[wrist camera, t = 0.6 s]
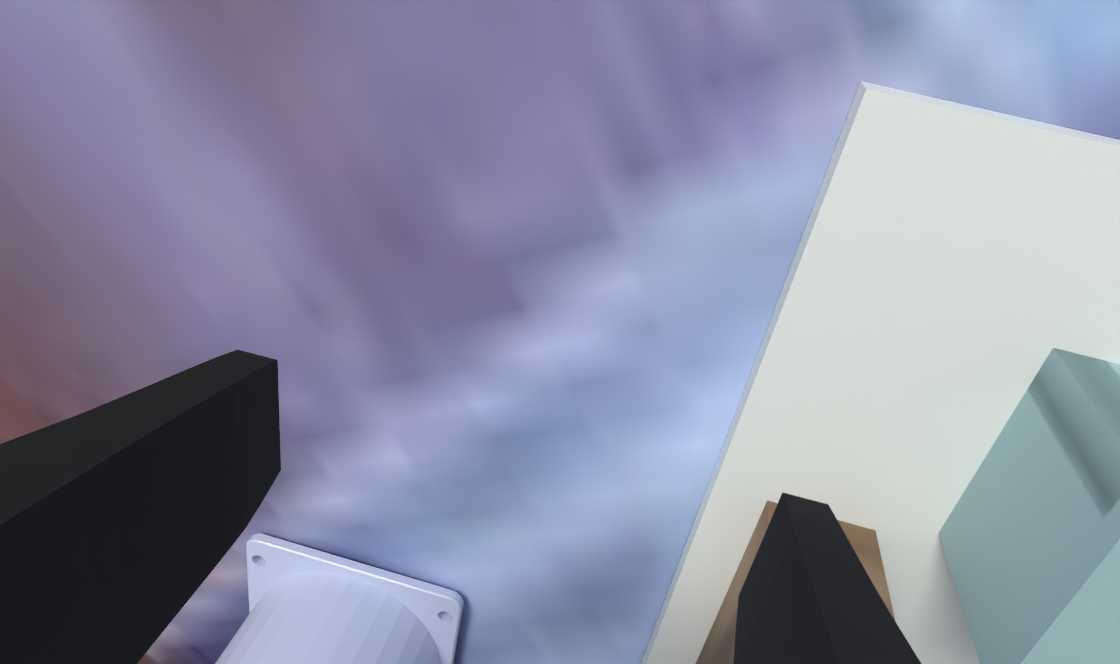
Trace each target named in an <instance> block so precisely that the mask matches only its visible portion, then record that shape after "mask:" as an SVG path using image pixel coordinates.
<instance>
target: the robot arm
mask: <svg viewBox="0 0 1120 664" xmlns="http://www.w3.org/2000/svg"><path fill="white" fill-rule="evenodd" d="M280 470H281V462H280V429H279V397H278V364H277V360H275V359H271V358H267V357H263V356H259V355H256V354H252V353H248V352H244V351H240V350H236V351H233V352H230V353H227V354H224V355H222V356H219V357H216V358H214V359H211V360H209V361H206V362H204V363H202V364H199V365H197V366H194V367H192V368H189V369H187V370H185V371H182V372H180V373H178V374H175V375H173V376H171V377H168V378H166V379H164V380H161V381H159V382H156V383H154V384H152V385H149V386H147V387H145V388H142V389H140V390H137V391H135V392H133V393H130V394H128V395H125V396H123V397H121V398H118V399H116V400H113V401H111V402H109V403H106V404H104V405H101V406H99V407H97V408H94V409H92V410H89V411H87V412H84V413H82V414H79V415H77V416H74V417H71V418H69V419H66V420H63V421H61V422H58V423H55V424H53V425H50V426H47V427H45V428H42V429H39V430H37V431H34V432H32V433H29V434H26V435H24V436H21V437H18V438H16V439H13V440H10V441H8V442H5V443H2V444H0V664H137V663H138V662H139V660H140V659H141V658H142V657H143V655H144V654H145V653H146V652H147V650H148V649H149V648H150V647H151V645H152V644H153V643H154V642H155V641H156V639H157V638H158V637H159V636H160V634H161V633H162V632H163V631H164V629H165V628H166V627H167V626H168V624H169V623H170V622H171V621H172V619H173V618H174V617H175V616H176V615H177V613H178V612H179V611H180V610H181V608H182V607H183V606H184V605H185V603H186V602H187V601H188V600H189V598H190V597H191V596H192V595H193V594H194V592H195V591H196V590H197V589H198V587H199V586H200V585H201V584H202V582H203V581H204V580H205V579H206V577H207V576H208V575H209V574H210V573H211V571H212V570H213V569H214V567H215V566H216V565H217V564H218V562H219V561H220V560H221V559H222V557H223V556H224V555H225V554H226V552H227V551H228V550H229V549H230V547H231V546H232V545H233V544H234V542H235V541H236V540H237V538H238V537H239V536H240V535H241V533H242V532H243V531H244V529H245V528H246V526H247V525H248V523H249V522H250V520H251V518H252V517H253V515H254V514H255V512H256V510H257V509H258V507H259V506H260V504H261V502H262V501H263V499H264V497H265V496H266V494H267V492H268V491H269V489H270V487H271V485H272V484H273V482H274V480H275V479H276V477H277V475H278V474H279V472H280ZM246 555H247V574H248V593H249V612H250V614H249V615H248V617H247V618H246V620H245V621H244V623H243V624H242V626H241V627H240V628H239V630H238V631H237V633H236V634H235V636H234V637H233V639H232V640H231V641H230V643H229V644H228V646H227V647H226V649H225V650H224V652H223V653H222V655H221V656H220V657H219V659H218V660H217V662H216V663H215V664H453V663H454V657H455V651H456V645H457V639H458V633H459V627H460V622H461V616H462V610H463V604H464V603H463V599H462V597H461V596H460V595H459V594H458V593H457V592H455V591H453V590H450V589H447V588H444V587H440V586H437V585H433V584H430V583H427V582H423V581H420V580H417V579H413V578H410V577H407V576H403V575H400V574H396V573H393V572H390V571H386V570H383V569H380V568H376V567H373V566H369V565H366V564H363V563H359V562H356V561H353V560H349V559H346V558H343V557H339V556H336V555H332V554H329V553H326V552H322V551H319V550H316V549H312V548H309V547H306V546H302V545H299V544H295V543H292V542H289V541H285V540H282V539H279V538H275V537H272V536H269V535H265V534H259V533H258V534H254V535H253V536H252V537H251V538H250V539H249V541H248V542H247V544H246ZM733 664H921V662H920V661H919V659H918V657H917V656H916V654H915V653H914V651H913V649H912V648H911V646H910V644H909V643H908V641H907V640H906V638H905V636H904V635H903V633H902V631H901V630H900V628H899V626H898V625H897V623H896V622H895V620H894V618H893V617H892V615H891V613H890V612H889V610H888V608H887V607H886V605H885V603H884V602H883V600H882V598H881V596H880V595H879V593H878V591H877V590H876V588H875V586H874V584H873V583H872V581H871V579H870V577H869V575H868V574H867V572H866V570H865V568H864V567H863V565H862V563H861V561H860V560H859V558H858V556H857V554H856V552H855V551H854V549H853V547H852V545H851V543H850V542H849V540H848V538H847V536H846V535H845V533H844V531H843V529H842V527H841V526H840V524H839V522H838V520H837V519H836V517H835V515H834V513H833V512H832V510H831V508H830V506H829V505H828V504H825V503H821V502H817V501H813V500H810V499H806V498H802V497H798V496H794V495H790V494H787V493H783V492H782V495H781V497H780V499H779V502H778V504H777V506H776V509H775V511H774V514H773V516H772V518H771V521H770V523H769V525H768V528H767V530H766V532H765V535H764V537H763V539H762V542H761V544H760V547H759V549H758V551H757V554H756V556H755V558H754V561H753V563H752V565H751V568H750V570H749V572H748V575H747V577H746V580H745V582H744V584H743V587H742V589H741V591H740V594H739V597H738V609H737V620H736V632H735V647H734V662H733Z"/></svg>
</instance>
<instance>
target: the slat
mask: <svg viewBox="0 0 1120 664" xmlns="http://www.w3.org/2000/svg"><path fill="white" fill-rule="evenodd" d="M777 504H778V503H775V502H771V501H767V502H766V504H765V507H764V509H763V511H762V514H761V516H760V518H759V520H758V523H757V525H756V527H755V530H754V532H753V534H752V536H751V539H750V541H749V543H748V545H747V548H746V550H745V552H744V555H743V557H742V559H741V561H740V564H739V566H738V568H737V571H736V573H735V575H734V577H733V580H732V582H731V584H730V586H729V589H728V591H727V593H726V596H725V598H724V600H723V602H722V605H721V607H720V609H719V612H718V614H717V616H716V618H715V621H714V623H713V625H712V628H711V630H710V632H709V634H708V637H707V639H706V641H705V643H704V646H703V648H702V650H701V653H700V655H699V657H698V659H697V662H696V664H733V662H734V647H735V632H736V620H737V609H738V597H739V594H740V591H741V589H742V587H743V584H744V582H745V580H746V577H747V575H748V572H749V570H750V568H751V565H752V563H753V561H754V558H755V556H756V554H757V551H758V549H759V547H760V544H761V542H762V539H763V537H764V535H765V532H766V530H767V528H768V525H769V523H770V521H771V518H772V516H773V514H774V511H775V509H776V506H777ZM838 522H839V524H840V526H841V527H842V529H843V531H844V533H845V535H846V536H847V538H848V540H849V542H850V543H851V545H852V547H853V549H854V551H855V552H856V554H857V556H858V558H859V560H860V561H861V563H862V565H863V567H864V568H865V570H866V572H867V574H868V575H869V577H870V579H871V581H872V583H873V584H874V586H875V588H876V590H877V591H878V593H879V595H880V596H881V598H882V600H883V602H884V603H885V605H886V607H887V608H888V610H889V612H890V613H891V615H892V617H893V618H894V620H895V617H894V613H893V608H892V603H891V599H890V594H889V590H888V585H887V581H886V576H885V572H884V567H883V562H882V558H881V553H880V549H879V544H878V540H877V535H876V530H872V529H869V528H865V527H861V526H858V525H854V524H851V523H847V522H843V521H840V520H838Z"/></svg>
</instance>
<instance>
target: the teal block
mask: <svg viewBox="0 0 1120 664" xmlns="http://www.w3.org/2000/svg"><path fill="white" fill-rule="evenodd" d="M939 536H940V539H941V542H942V545H943V548H944V551H945V554H946V558H947V561H948V564H949V567H950V570H951V573H952V576H953V580H954V583H955V586H956V589H957V592H958V595H959V598H960V601H961V605H962V608H963V611H964V614H965V617H966V620H967V623H968V627H969V630H970V633H971V636H972V639H973V642H974V645H975V649H976V652H977V655H978V658H979V661H980V664H1120V364H1117V363H1113V362H1109V361H1105V360H1101V359H1097V358H1093V357H1089V356H1085V355H1081V354H1077V353H1073V352H1069V351H1065V350H1061V349H1057V348H1052V350H1051V352H1050V353H1049V355H1048V357H1047V358H1046V360H1045V361H1044V363H1043V365H1042V366H1041V368H1040V370H1039V371H1038V373H1037V374H1036V376H1035V378H1034V379H1033V381H1032V382H1031V384H1030V386H1029V387H1028V389H1027V391H1026V392H1025V394H1024V395H1023V397H1022V399H1021V400H1020V402H1019V403H1018V405H1017V407H1016V408H1015V410H1014V412H1013V413H1012V415H1011V416H1010V418H1009V420H1008V421H1007V423H1006V425H1005V426H1004V428H1003V429H1002V431H1001V433H1000V434H999V436H998V437H997V439H996V441H995V442H994V444H993V446H992V447H991V449H990V450H989V452H988V454H987V455H986V457H985V458H984V460H983V462H982V463H981V465H980V467H979V468H978V470H977V471H976V473H975V475H974V476H973V478H972V480H971V481H970V483H969V484H968V486H967V488H966V489H965V491H964V492H963V494H962V496H961V497H960V499H959V501H958V502H957V504H956V505H955V507H954V509H953V510H952V512H951V513H950V515H949V517H948V518H947V520H946V522H945V523H944V525H943V526H942V528H941V530H940V531H939Z"/></svg>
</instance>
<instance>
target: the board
mask: <svg viewBox="0 0 1120 664" xmlns="http://www.w3.org/2000/svg"><path fill="white" fill-rule="evenodd" d="M1052 348H1057V349H1061V350H1065V351H1069V352H1073V353H1077V354H1081V355H1085V356H1089V357H1093V358H1097V359H1101V360H1105V361H1109V362H1113V363H1117V364H1120V140H1117V139H1113V138H1109V137H1104V136H1100V135H1096V134H1091V133H1087V132H1082V131H1078V130H1074V129H1069V128H1065V127H1060V126H1056V125H1052V124H1047V123H1043V122H1038V121H1034V120H1030V119H1025V118H1021V117H1016V116H1012V115H1008V114H1003V113H999V112H994V111H990V110H986V109H981V108H977V107H973V106H968V105H964V104H959V103H955V102H951V101H946V100H942V99H937V98H933V97H929V96H924V95H920V94H915V93H911V92H907V91H902V90H898V89H893V88H889V87H885V86H880V85H876V84H871V83H867V82H863V81H861V82H860V85H859V87H858V90H857V93H856V95H855V98H854V101H853V103H852V106H851V109H850V111H849V114H848V117H847V119H846V122H845V124H844V127H843V130H842V132H841V135H840V138H839V140H838V143H837V146H836V148H835V151H834V154H833V156H832V159H831V162H830V164H829V167H828V169H827V172H826V175H825V177H824V180H823V183H822V185H821V188H820V191H819V193H818V196H817V199H816V201H815V204H814V206H813V209H812V212H811V214H810V217H809V220H808V222H807V225H806V228H805V230H804V233H803V236H802V238H801V241H800V244H799V246H798V249H797V251H796V254H795V257H794V259H793V262H792V265H791V267H790V270H789V273H788V275H787V278H786V281H785V283H784V286H783V289H782V291H781V294H780V296H779V299H778V302H777V304H776V307H775V310H774V312H773V315H772V318H771V320H770V323H769V326H768V328H767V331H766V333H765V336H764V339H763V341H762V344H761V347H760V349H759V352H758V355H757V357H756V360H755V363H754V365H753V368H752V371H751V373H750V376H749V378H748V381H747V384H746V386H745V389H744V392H743V394H742V397H741V400H740V402H739V405H738V408H737V410H736V413H735V416H734V418H733V421H732V423H731V426H730V429H729V431H728V434H727V437H726V439H725V442H724V445H723V447H722V450H721V453H720V455H719V458H718V461H717V463H716V466H715V468H714V471H713V474H712V476H711V479H710V482H709V484H708V487H707V490H706V492H705V495H704V498H703V500H702V503H701V505H700V508H699V511H698V513H697V516H696V519H695V521H694V524H693V527H692V529H691V532H690V535H689V537H688V540H687V543H686V545H685V548H684V550H683V553H682V556H681V558H680V561H679V564H678V566H677V569H676V572H675V574H674V577H673V580H672V582H671V585H670V588H669V590H668V593H667V595H666V598H665V601H664V603H663V606H662V609H661V611H660V614H659V617H658V619H657V622H656V625H655V627H654V630H653V632H652V635H651V638H650V640H649V643H648V646H647V648H646V651H645V654H644V656H643V659H642V662H641V664H696V662H697V659H698V657H699V655H700V653H701V650H702V648H703V646H704V643H705V641H706V639H707V637H708V634H709V632H710V630H711V628H712V625H713V623H714V621H715V618H716V616H717V614H718V612H719V609H720V607H721V605H722V602H723V600H724V598H725V596H726V593H727V591H728V589H729V586H730V584H731V582H732V580H733V577H734V575H735V573H736V571H737V568H738V566H739V564H740V561H741V559H742V557H743V555H744V552H745V550H746V548H747V545H748V543H749V541H750V539H751V536H752V534H753V532H754V530H755V527H756V525H757V523H758V520H759V518H760V516H761V514H762V511H763V509H764V507H765V504H766V502H767V501H771V502H775V503H778V502H779V499H780V497H781V495H782V492H783V493H787V494H790V495H794V496H798V497H802V498H806V499H810V500H813V501H817V502H821V503H825V504H828V505H829V506H830V508H831V510H832V512H833V513H834V515H835V517H836V519H837V520H840V521H843V522H847V523H851V524H854V525H858V526H861V527H865V528H869V529H872V530H876V535H877V540H878V544H879V549H880V553H881V558H882V562H883V567H884V572H885V576H886V581H887V585H888V590H889V594H890V599H891V603H892V608H893V613H894V617H895V622H896V623H897V625H898V626H899V628H900V630H901V631H902V633H903V635H904V636H905V638H906V640H907V641H908V643H909V644H910V646H911V648H912V649H913V651H914V653H915V654H916V656H917V657H918V659H919V661H920V662H921V664H980V661H979V658H978V655H977V652H976V649H975V645H974V642H973V639H972V636H971V633H970V630H969V627H968V623H967V620H966V617H965V614H964V611H963V608H962V605H961V601H960V598H959V595H958V592H957V589H956V586H955V583H954V580H953V576H952V573H951V570H950V567H949V564H948V561H947V558H946V554H945V551H944V548H943V545H942V542H941V539H940V536H939V531H940V530H941V528H942V526H943V525H944V523H945V522H946V520H947V518H948V517H949V515H950V513H951V512H952V510H953V509H954V507H955V505H956V504H957V502H958V501H959V499H960V497H961V496H962V494H963V492H964V491H965V489H966V488H967V486H968V484H969V483H970V481H971V480H972V478H973V476H974V475H975V473H976V471H977V470H978V468H979V467H980V465H981V463H982V462H983V460H984V458H985V457H986V455H987V454H988V452H989V450H990V449H991V447H992V446H993V444H994V442H995V441H996V439H997V437H998V436H999V434H1000V433H1001V431H1002V429H1003V428H1004V426H1005V425H1006V423H1007V421H1008V420H1009V418H1010V416H1011V415H1012V413H1013V412H1014V410H1015V408H1016V407H1017V405H1018V403H1019V402H1020V400H1021V399H1022V397H1023V395H1024V394H1025V392H1026V391H1027V389H1028V387H1029V386H1030V384H1031V382H1032V381H1033V379H1034V378H1035V376H1036V374H1037V373H1038V371H1039V370H1040V368H1041V366H1042V365H1043V363H1044V361H1045V360H1046V358H1047V357H1048V355H1049V353H1050V352H1051V350H1052Z"/></svg>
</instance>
